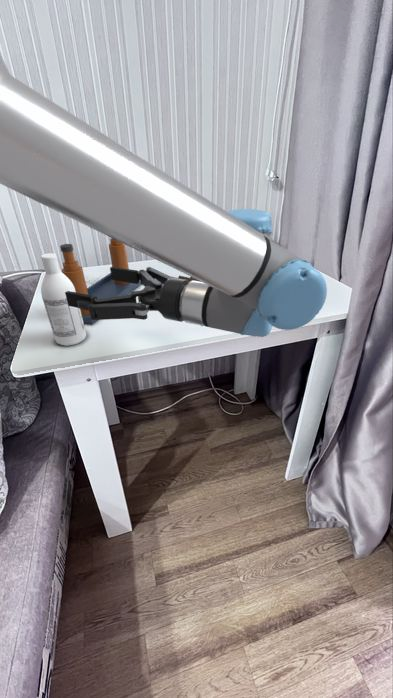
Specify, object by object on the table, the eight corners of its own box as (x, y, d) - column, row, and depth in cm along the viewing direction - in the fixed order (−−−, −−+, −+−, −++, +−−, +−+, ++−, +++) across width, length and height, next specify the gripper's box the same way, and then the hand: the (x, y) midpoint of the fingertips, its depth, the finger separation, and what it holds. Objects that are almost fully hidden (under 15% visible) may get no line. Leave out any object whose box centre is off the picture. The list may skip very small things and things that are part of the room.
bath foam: (71, 328, 80) (49, 248, 69) (92, 335, 78) (73, 252, 66) (49, 342, 75) (22, 257, 64) (71, 349, 73) (46, 262, 61)
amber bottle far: (118, 286, 101) (108, 226, 91) (112, 281, 104) (102, 223, 94) (132, 282, 103) (125, 224, 93) (127, 277, 106) (119, 221, 96)
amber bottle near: (75, 318, 83) (57, 249, 73) (70, 311, 87) (52, 244, 77) (94, 313, 85) (79, 246, 75) (88, 306, 89) (74, 241, 79)
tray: (92, 324, 82) (90, 317, 81) (54, 318, 85) (52, 311, 84) (144, 280, 105) (144, 274, 104) (113, 277, 108) (112, 271, 107)
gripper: (154, 356, 50) (51, 330, 57) (212, 293, 69) (128, 280, 76) (149, 313, 46) (38, 291, 53) (212, 259, 65) (124, 248, 72)
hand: (91, 284), depth 65 cm, fingers open, 13 cm apart
